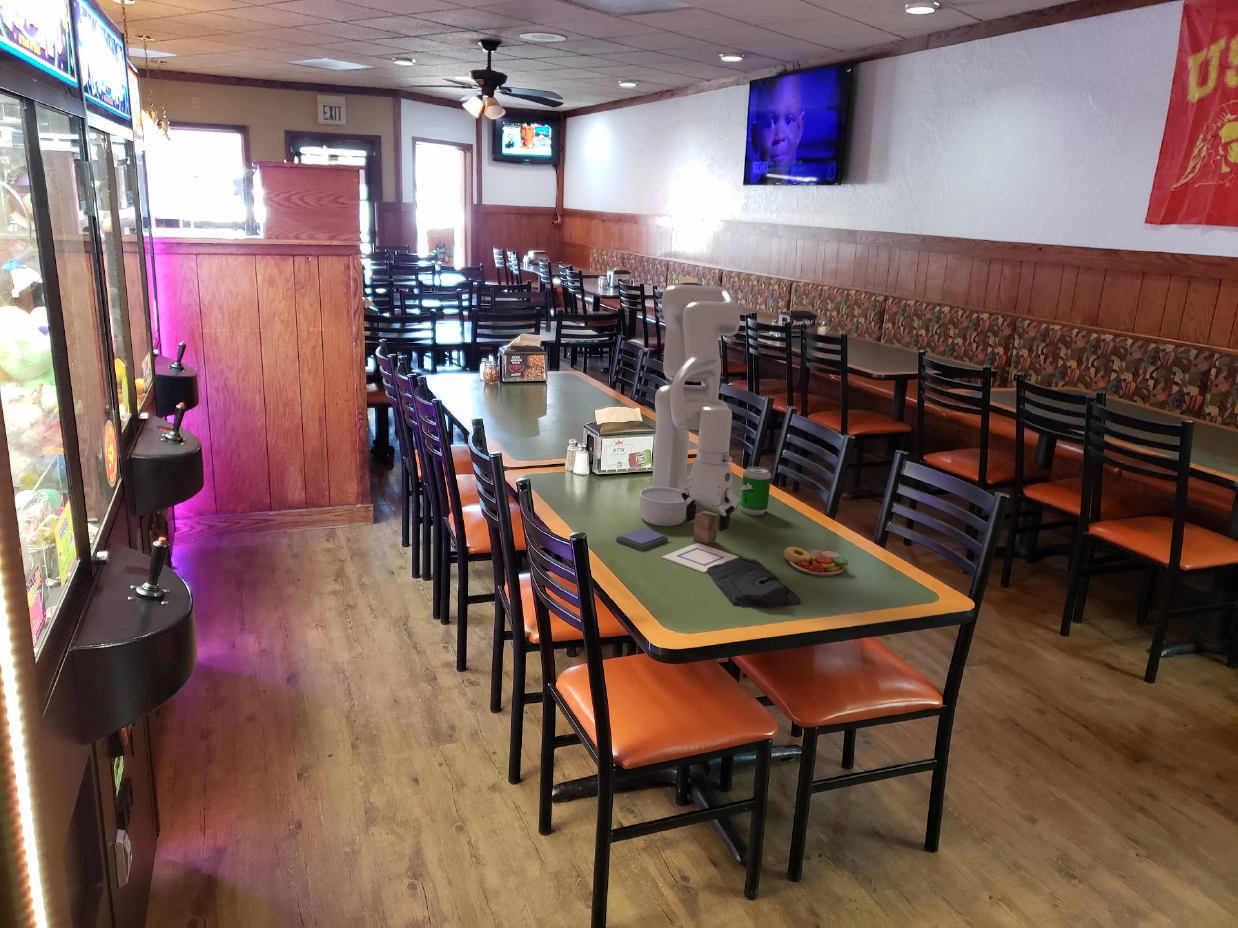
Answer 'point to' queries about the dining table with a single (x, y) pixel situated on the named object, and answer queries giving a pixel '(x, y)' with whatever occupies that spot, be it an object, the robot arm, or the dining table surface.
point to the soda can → (755, 490)
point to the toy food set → (815, 561)
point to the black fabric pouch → (751, 584)
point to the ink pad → (642, 539)
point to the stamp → (705, 527)
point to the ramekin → (662, 506)
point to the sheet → (699, 557)
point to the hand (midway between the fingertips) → (706, 525)
